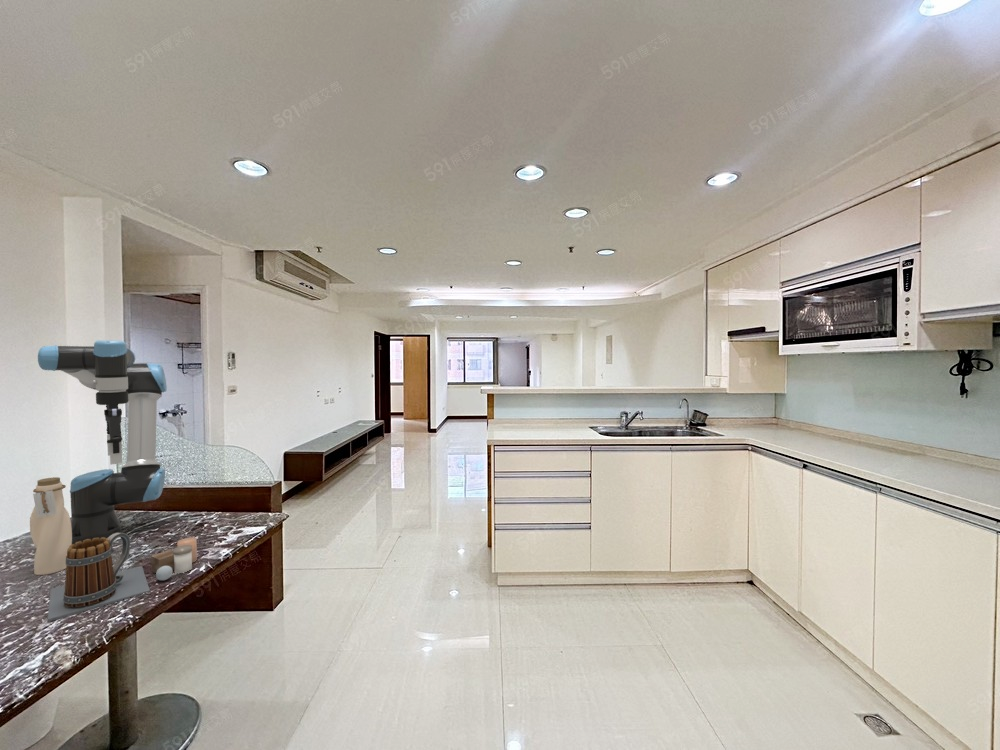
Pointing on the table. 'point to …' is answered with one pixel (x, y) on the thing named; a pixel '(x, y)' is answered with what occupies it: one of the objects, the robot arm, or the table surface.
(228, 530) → the table surface
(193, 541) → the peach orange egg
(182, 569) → the jar
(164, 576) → the grey ball
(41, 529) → the cream corked bottle
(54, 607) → the slate pad
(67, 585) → the mug
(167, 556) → the walnut block
